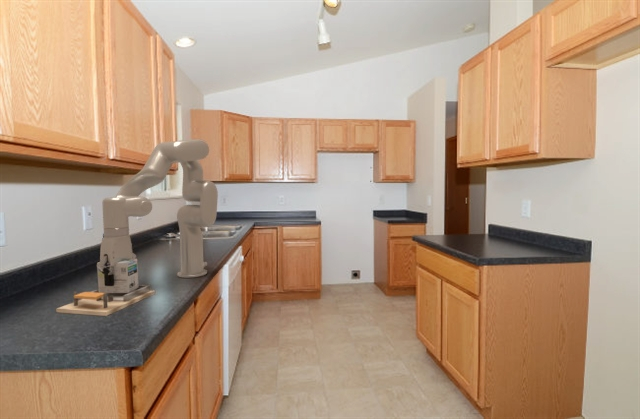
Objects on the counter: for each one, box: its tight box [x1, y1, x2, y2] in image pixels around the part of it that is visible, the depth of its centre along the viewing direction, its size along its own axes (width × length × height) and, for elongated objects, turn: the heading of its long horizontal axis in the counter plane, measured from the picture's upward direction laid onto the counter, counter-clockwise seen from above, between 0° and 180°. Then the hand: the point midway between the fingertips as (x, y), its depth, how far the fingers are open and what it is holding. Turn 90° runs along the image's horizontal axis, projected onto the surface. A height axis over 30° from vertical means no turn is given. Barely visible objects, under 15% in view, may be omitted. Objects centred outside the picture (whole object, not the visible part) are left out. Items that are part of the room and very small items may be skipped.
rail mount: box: [56, 284, 156, 317], centre depth 112 cm, size 22×18×6 cm
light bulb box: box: [96, 258, 140, 293], centre depth 116 cm, size 11×7×11 cm, turn 92°
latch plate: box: [73, 291, 104, 300], centre depth 105 cm, size 4×8×1 cm, turn 80°
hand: (118, 282), depth 116 cm, fingers closed on light bulb box, 7 cm apart
